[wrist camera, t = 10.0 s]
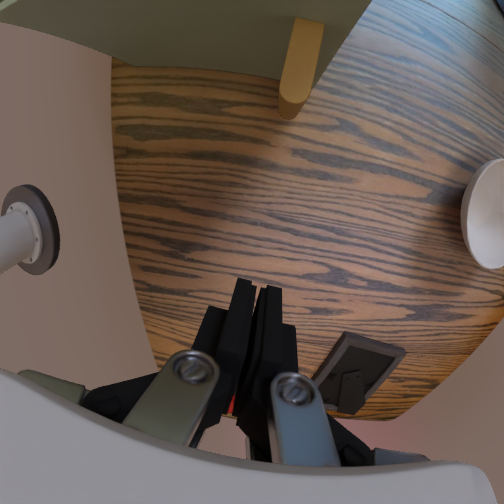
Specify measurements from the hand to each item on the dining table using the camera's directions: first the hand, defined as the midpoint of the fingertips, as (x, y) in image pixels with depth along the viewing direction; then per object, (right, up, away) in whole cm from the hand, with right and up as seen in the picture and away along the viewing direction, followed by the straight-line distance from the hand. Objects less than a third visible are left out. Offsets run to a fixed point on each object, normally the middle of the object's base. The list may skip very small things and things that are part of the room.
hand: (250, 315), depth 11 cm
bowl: (+35, +10, +22) cm, 43 cm away
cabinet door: (-5, +23, +20) cm, 31 cm away
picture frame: (+18, -20, +36) cm, 45 cm away
